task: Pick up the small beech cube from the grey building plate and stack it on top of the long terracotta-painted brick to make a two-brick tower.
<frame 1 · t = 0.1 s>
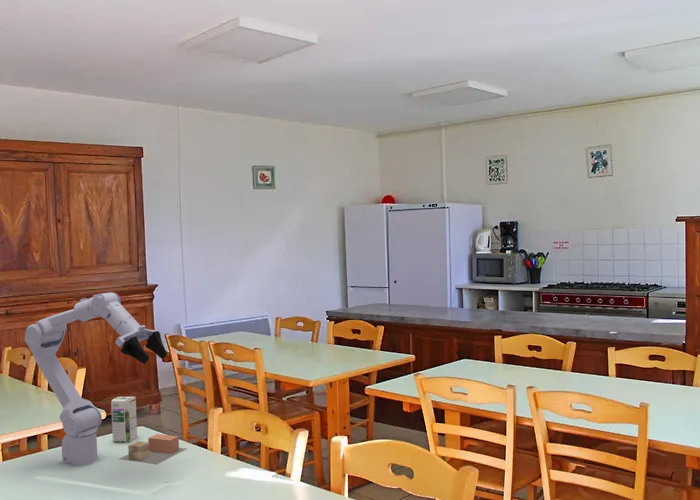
hand: (156, 358, 180), 32 cm above the table, tool tilted 50°, fingers open, 7 cm apart
beech cube: (138, 457, 193), point 1 cm above the table, touching building plate
building plate: (153, 457, 196), on the table
syrup box: (125, 443, 210), on the table
terracotta brick: (164, 450, 198), point 1 cm above the table, touching building plate
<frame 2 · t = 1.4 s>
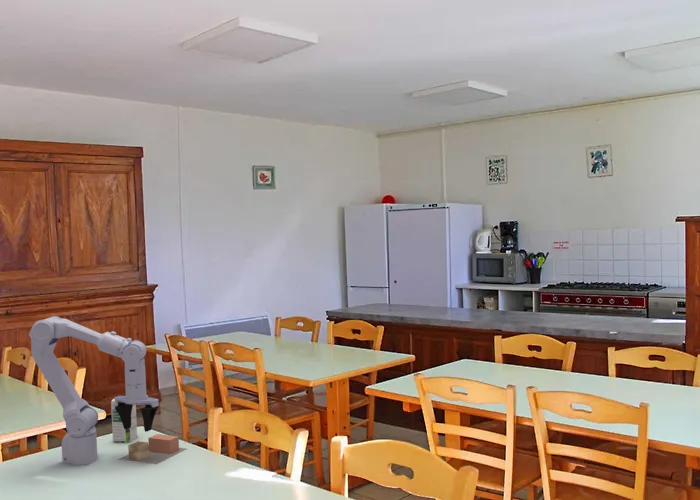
hand: (137, 429, 193), 9 cm above the table, tool pointing down, fingers open, 7 cm apart
nothing on the table moved.
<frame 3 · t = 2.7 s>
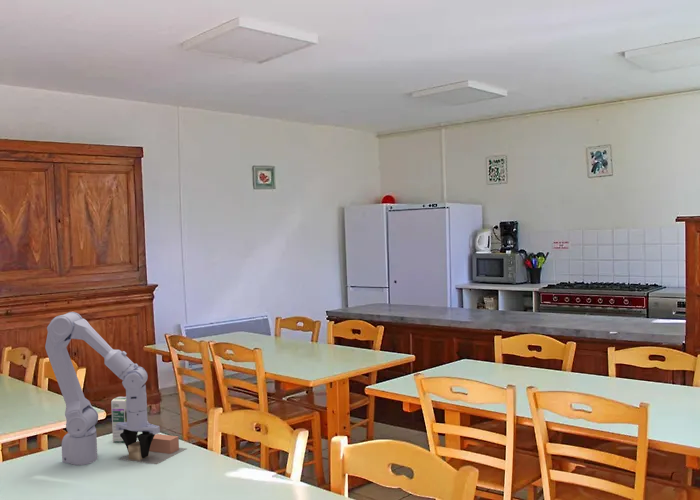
hand: (138, 456, 193), 1 cm above the table, tool pointing down, fingers closed on beech cube, 4 cm apart
beech cube: (138, 457, 193), point 1 cm above the table, touching building plate, gripper
everything else where it was.
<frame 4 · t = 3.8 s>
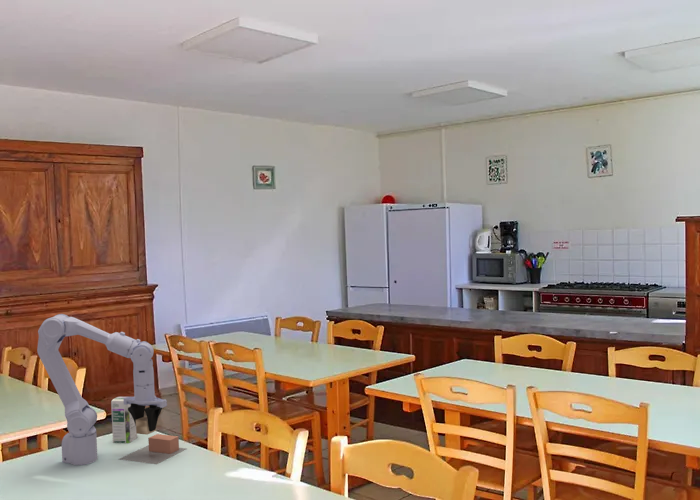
hand: (146, 429, 194), 9 cm above the table, tool pointing down, fingers closed on beech cube, 4 cm apart
beech cube: (146, 432, 194), point 8 cm above the table, touching gripper
everything else where it was.
when the fingers open (6 cm above the table, at t = 4.9 s): beech cube stays where it is, resting on terracotta brick.
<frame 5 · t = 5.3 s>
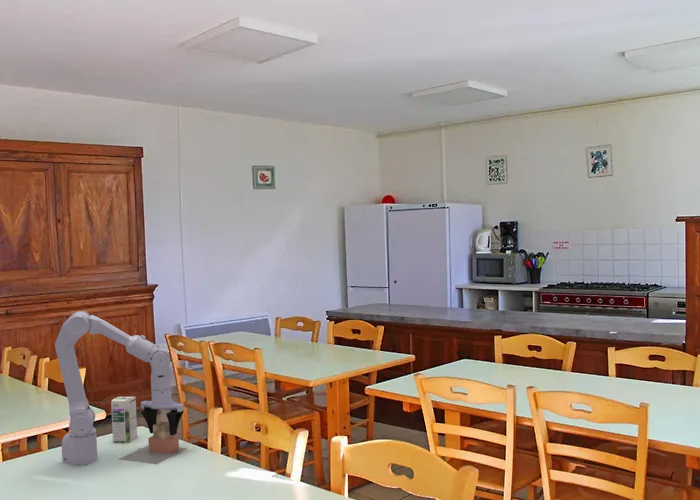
hand: (163, 433, 198), 6 cm above the table, tool pointing down, fingers open, 7 cm apart
beech cube: (163, 437, 198), point 5 cm above the table, touching terracotta brick
terracotta brick: (164, 450, 198), point 1 cm above the table, touching beech cube, building plate
everything else where it was.
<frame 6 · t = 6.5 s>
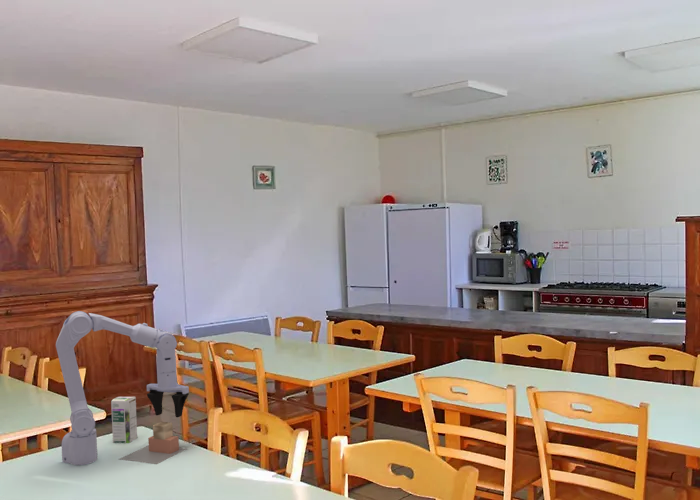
hand: (168, 415, 202), 10 cm above the table, tool pointing down, fingers open, 7 cm apart
nothing on the table moved.
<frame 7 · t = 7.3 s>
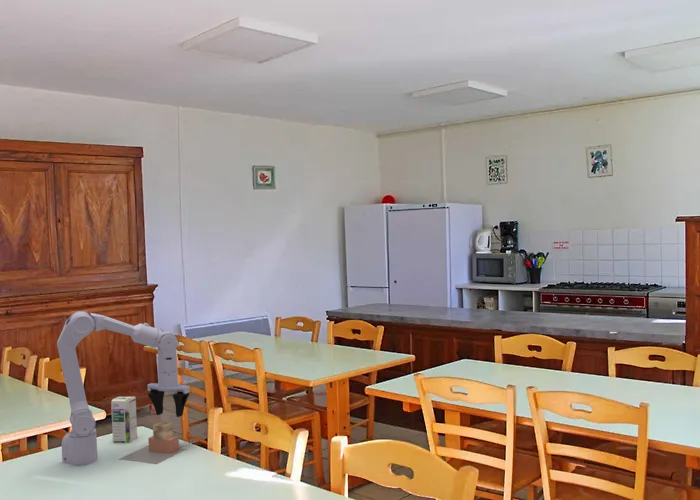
hand: (169, 415, 203), 10 cm above the table, tool pointing down, fingers open, 7 cm apart
nothing on the table moved.
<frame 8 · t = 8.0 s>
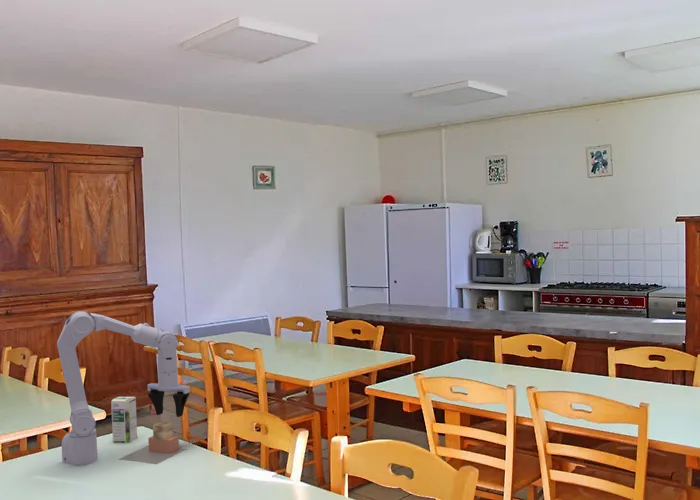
hand: (169, 415, 203), 10 cm above the table, tool pointing down, fingers open, 7 cm apart
nothing on the table moved.
at the end: beech cube 0.1 cm off-centre on the terracotta brick, point 4.0 cm above the terracotta brick's base; beech cube tilted 0°; the gripper is holding nothing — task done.
